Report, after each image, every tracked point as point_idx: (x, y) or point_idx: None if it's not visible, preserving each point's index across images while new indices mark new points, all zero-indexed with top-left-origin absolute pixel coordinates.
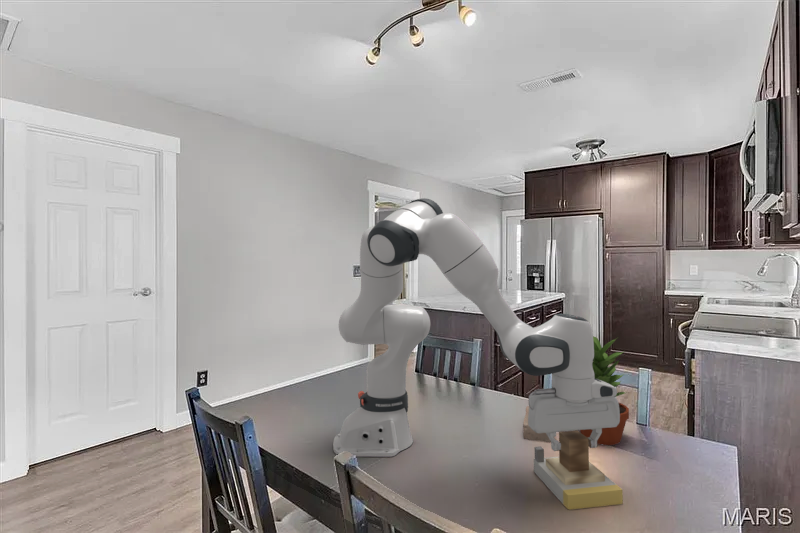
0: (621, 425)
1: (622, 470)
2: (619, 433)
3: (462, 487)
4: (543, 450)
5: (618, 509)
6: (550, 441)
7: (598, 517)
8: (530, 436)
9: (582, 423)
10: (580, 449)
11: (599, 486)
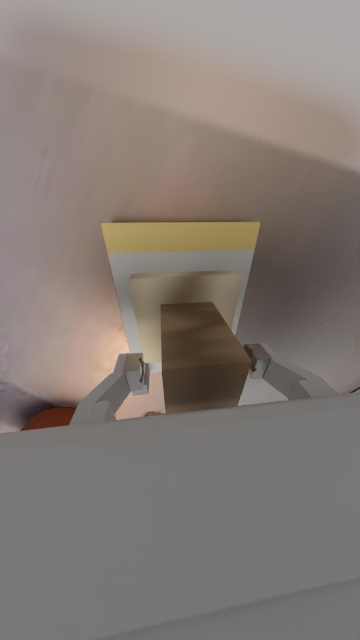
0: None
1: (61, 343)
2: (26, 429)
3: (350, 319)
4: None
5: (132, 200)
6: (151, 413)
7: (198, 174)
8: None
9: (199, 454)
10: (192, 337)
11: (157, 251)
